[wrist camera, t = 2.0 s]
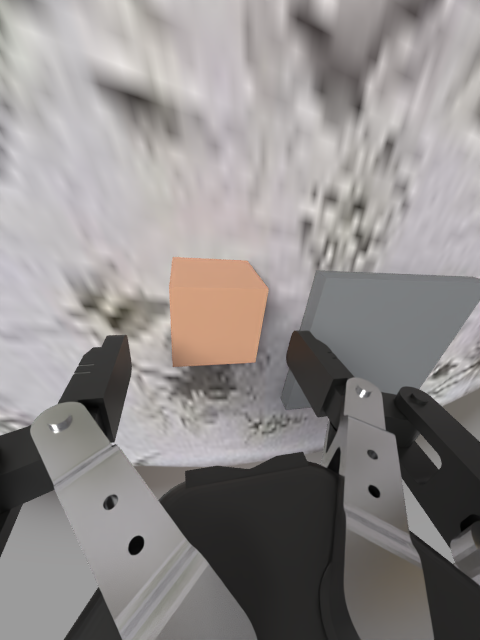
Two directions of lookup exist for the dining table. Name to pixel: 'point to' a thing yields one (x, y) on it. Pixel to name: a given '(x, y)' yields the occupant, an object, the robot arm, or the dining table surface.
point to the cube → (215, 311)
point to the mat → (385, 325)
